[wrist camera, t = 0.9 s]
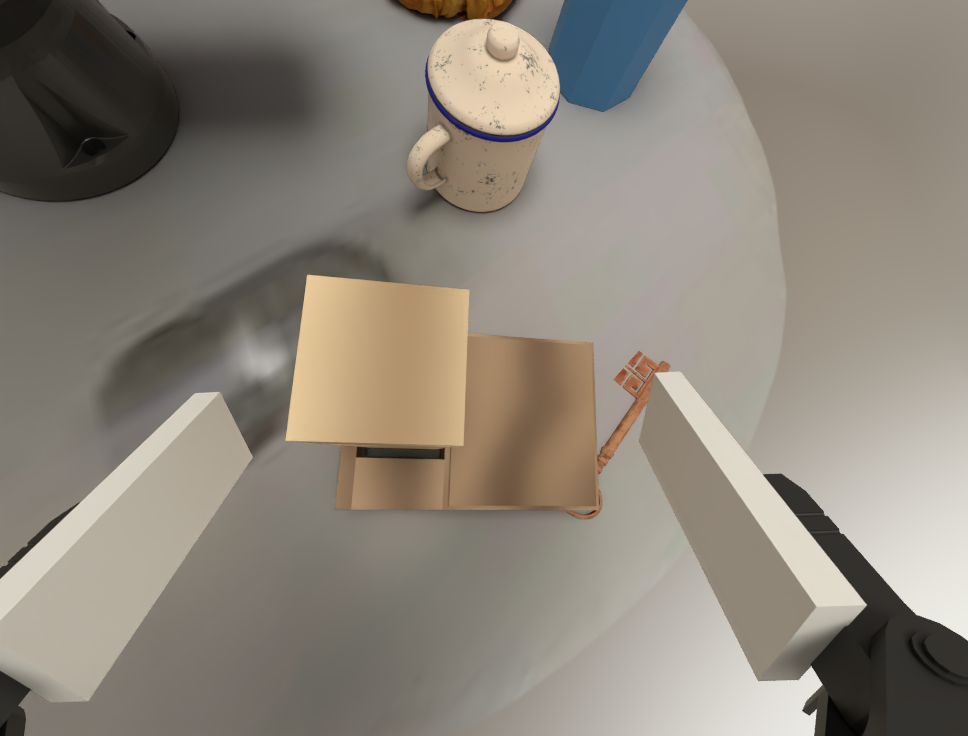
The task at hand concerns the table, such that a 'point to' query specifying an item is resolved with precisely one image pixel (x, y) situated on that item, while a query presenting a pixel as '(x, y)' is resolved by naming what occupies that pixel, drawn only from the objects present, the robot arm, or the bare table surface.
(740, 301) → the table surface
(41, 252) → the table surface
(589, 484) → the wooden sliding lid box
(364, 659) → the table surface
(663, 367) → the key
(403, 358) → the wooden key peg
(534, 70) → the teacup with lid
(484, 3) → the croissant
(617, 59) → the water bottle
